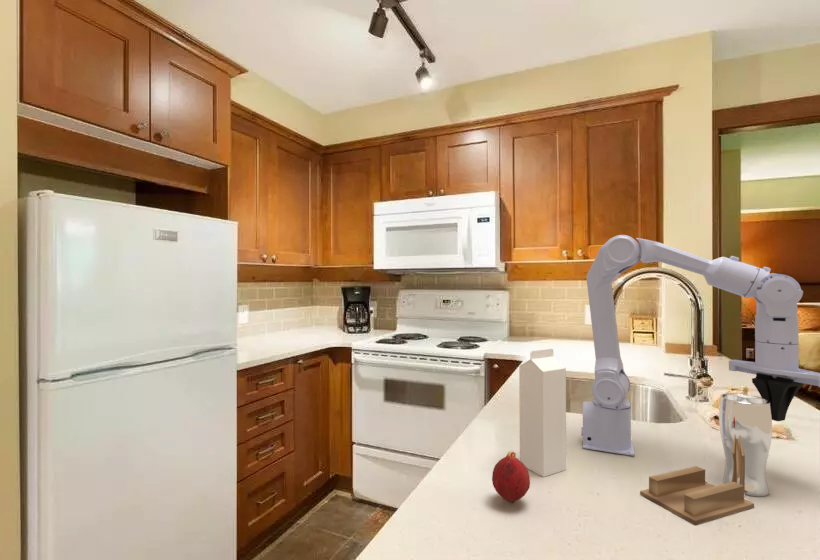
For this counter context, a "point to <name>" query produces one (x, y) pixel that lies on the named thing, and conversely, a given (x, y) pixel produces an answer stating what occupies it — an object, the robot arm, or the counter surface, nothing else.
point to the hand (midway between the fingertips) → (776, 419)
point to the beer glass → (746, 440)
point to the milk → (543, 413)
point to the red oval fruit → (511, 478)
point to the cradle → (695, 495)
